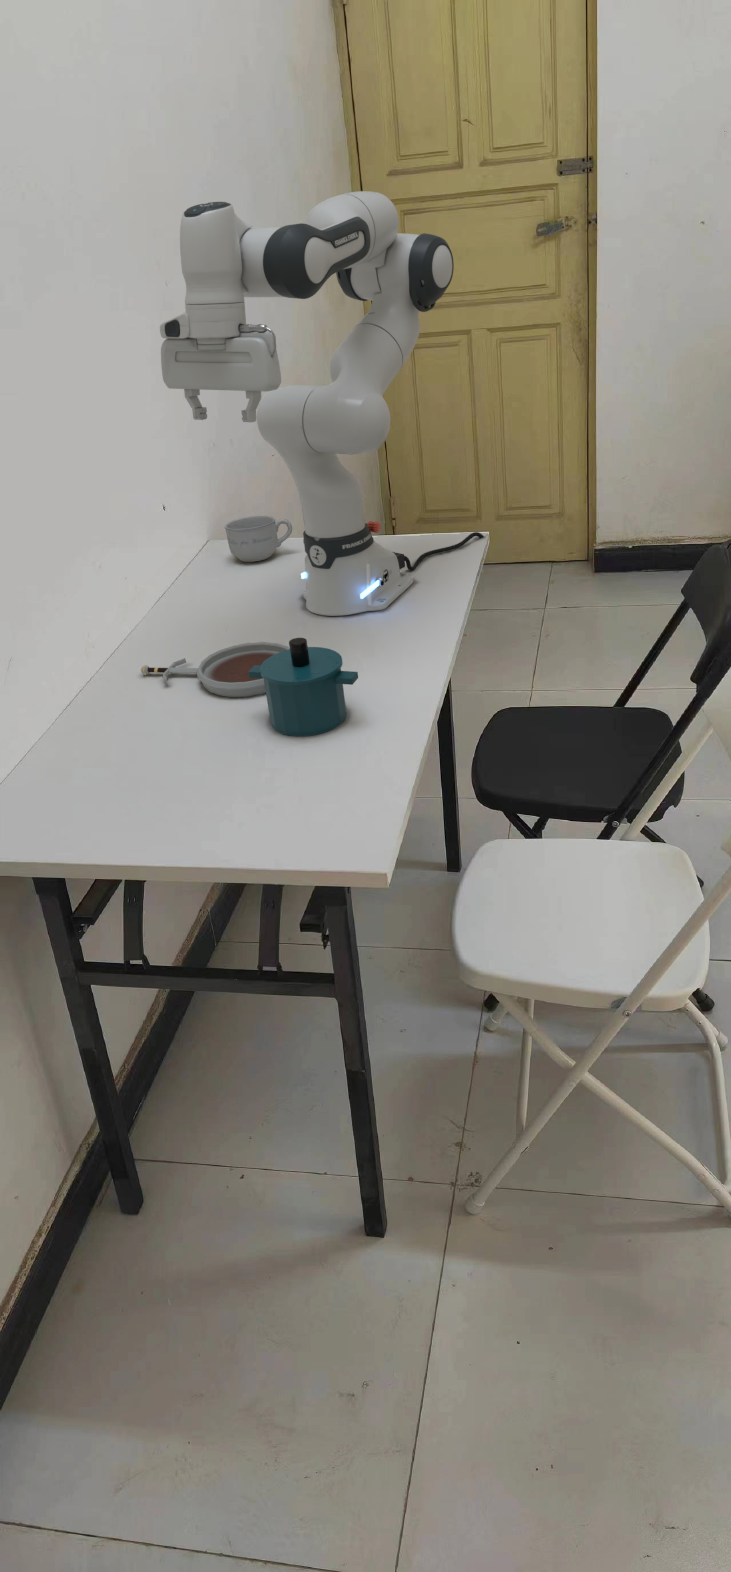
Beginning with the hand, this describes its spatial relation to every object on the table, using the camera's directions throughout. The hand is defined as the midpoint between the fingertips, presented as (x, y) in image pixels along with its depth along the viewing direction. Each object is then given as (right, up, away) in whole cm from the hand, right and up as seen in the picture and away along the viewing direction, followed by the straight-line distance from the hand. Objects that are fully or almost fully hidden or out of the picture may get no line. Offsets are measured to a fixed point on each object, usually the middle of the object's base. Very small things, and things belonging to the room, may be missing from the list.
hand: (224, 420), depth 173 cm
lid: (+12, -39, -9) cm, 42 cm away
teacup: (0, -8, +65) cm, 65 cm away
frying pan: (-3, -38, +13) cm, 41 cm away
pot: (+13, -46, -4) cm, 49 cm away
